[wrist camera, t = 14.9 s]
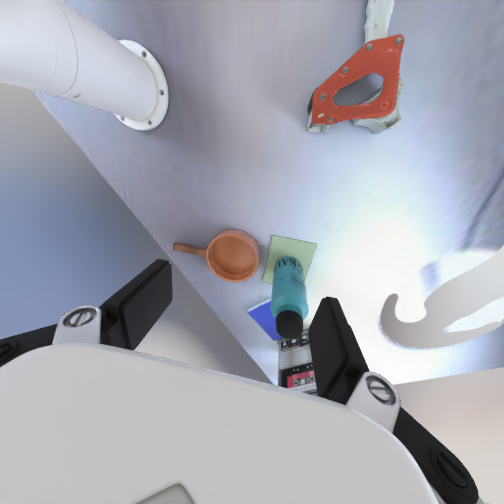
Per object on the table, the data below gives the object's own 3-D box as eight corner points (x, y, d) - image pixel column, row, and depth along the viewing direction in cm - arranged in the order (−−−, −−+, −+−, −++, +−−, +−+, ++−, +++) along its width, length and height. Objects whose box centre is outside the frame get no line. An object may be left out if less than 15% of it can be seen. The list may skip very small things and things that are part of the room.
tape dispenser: (383, -49, 25) (274, 94, 32) (408, -106, 20) (273, 78, 27) (457, 61, 27) (341, 170, 34) (496, 34, 22) (352, 168, 29)
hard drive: (297, 331, 52) (271, 300, 48) (273, 341, 55) (247, 313, 51) (297, 327, 53) (271, 297, 50) (273, 337, 56) (248, 309, 53)
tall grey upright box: (320, 323, 51) (349, 448, 29) (330, 338, 53) (364, 466, 30) (277, 338, 56) (272, 454, 34) (287, 351, 58) (290, 469, 35)
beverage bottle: (294, 279, 46) (301, 353, 28) (269, 270, 46) (260, 337, 28) (306, 258, 43) (322, 325, 25) (280, 247, 43) (277, 307, 25)
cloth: (262, 281, 48) (262, 282, 48) (272, 235, 42) (272, 235, 42) (301, 289, 47) (301, 290, 47) (316, 243, 42) (317, 244, 41)
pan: (210, 268, 49) (205, 276, 46) (212, 224, 44) (207, 229, 40) (255, 278, 48) (253, 286, 45) (264, 235, 43) (262, 240, 40)
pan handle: (175, 247, 45) (173, 249, 44) (175, 241, 44) (172, 243, 43) (208, 254, 45) (207, 257, 44) (209, 249, 44) (207, 251, 43)
